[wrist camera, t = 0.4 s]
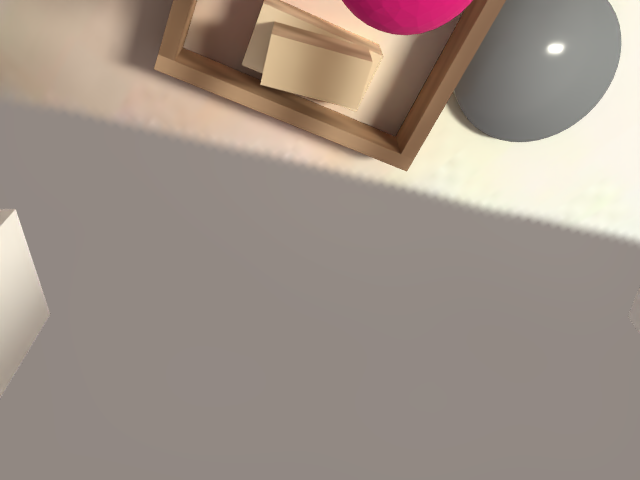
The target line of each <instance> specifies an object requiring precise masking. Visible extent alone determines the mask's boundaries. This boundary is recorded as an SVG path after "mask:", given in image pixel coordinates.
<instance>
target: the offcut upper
mask: <svg viewBox="0 0 640 480" xmlns="http://www.w3.org/2000/svg"><path fill="white" fill-rule="evenodd" d="M372 63H373V61H372V58H371V54H370V51H369V48H368V47H364V46H361V45H357V44H353V43H350V42H346V41H343V40H339V39H336V38H332V37H329V36H325V35H321V34H318V33H314V32H311V31H307V30H304V29H300V28H296V27H293V26H289V25H286V24H282V23H279V22H275V21H274V25H273V29H272V34H271V38H270V43H269V47H268V52H267V57H266V61H265V66H264V70H263V75H262V79H261V84H260V85H264V86H268V87H271V88H275V89H279V90H283V91H287V92H290V93H294V94H298V95H302V96H306V97H310V98H313V99H317V100H321V101H325V102H329V103H332V104H336V105H340V106H344V107H348V108H352V109H355V110H357V109H358V106H359V103H360V100H361V97H362V94H363V91H364V88H365V85H366V81H367V78H368V75H369V72H370V69H371V66H372Z"/></svg>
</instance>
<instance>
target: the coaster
mask: <svg viewBox="0 0 640 480" xmlns="http://www.w3.org/2000/svg"><path fill="white" fill-rule="evenodd" d="M620 52H621V32H620V26H619V22H618V19H617V16H616V13H615V12H614V10H613V8H612V6H611V4H610V3H609V2H608V0H506V1H505V3H504V5H503V7H502V8H501V10H500V12H499V13H498V15H497V17H496V19H495V20H494V22H493V24H492V25H491V27H490V29H489V31H488V32H487V34H486V36H485V38H484V39H483V41H482V43H481V44H480V46H479V48H478V50H477V51H476V53H475V55H474V57H473V58H472V60H471V62H470V63H469V65H468V67H467V69H466V70H465V72H464V74H463V76H462V77H461V79H460V81H459V82H458V84H457V86H456V88H455V89H454V91H453V92H454V95H455V98H456V100H457V102H458V104H459V106H460V108H461V110H462V112H463V113H464V114H465V116H466V117H467V119H468V120H469V121H470V122H471V123H472V124H473V125H474V126H475V127H476V128H478V129H479V130H480V131H482V132H483V133H485V134H487V135H489V136H491V137H494V138H497V139H500V140H505V141H510V142H529V141H536V140H540V139H544V138H548V137H550V136H553V135H555V134H558V133H560V132H562V131H564V130H566V129H568V128H569V127H571V126H572V125H574V124H575V123H577V122H578V121H579V120H581V119H582V118H583V117H584V116H586V115H587V114H588V113H589V112H590V111H591V110H592V109H593V108H594V107H595V106H596V104H597V103H598V102H599V101H600V99H601V98H602V97H603V95H604V94H605V92H606V91H607V89H608V87H609V86H610V84H611V82H612V80H613V78H614V75H615V72H616V70H617V67H618V63H619V59H620Z"/></svg>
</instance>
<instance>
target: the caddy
mask: <svg viewBox="0 0 640 480" xmlns="http://www.w3.org/2000/svg"><path fill="white" fill-rule="evenodd" d="M505 1H506V0H473V1H472V2H471V3H470V4H469V5H468V6H467V7H466V9H465V11H464V13H463V14H462V16H461V18H460V20H459V22H458V24H457V25H456V27H455V29H454V31H453V33H452V35H451V36H450V38H449V40H448V42H447V44H446V46H445V47H444V49H443V51H442V53H441V55H440V57H439V58H438V60H437V62H436V64H435V66H434V67H433V69H432V71H431V73H430V75H429V77H428V78H427V80H426V82H425V84H424V86H423V88H422V89H421V91H420V93H419V95H418V97H417V99H416V100H415V102H414V104H413V106H412V108H411V109H410V111H409V113H408V115H407V117H406V119H405V120H404V122H403V124H402V126H401V128H400V130H399V131H398V133H397V135H396V137H395V136H393V135H391V134H388V133H386V132H383V131H381V130H379V129H376V128H374V127H371V126H369V125H367V124H364V123H362V122H359V121H357V120H355V119H352V118H350V117H348V116H345V115H343V114H340V113H338V112H336V111H333V110H331V109H328V108H326V107H324V106H321V105H319V104H316V103H314V102H312V101H309V100H307V99H304V98H302V97H300V96H297V95H295V94H293V93H290V92H287V91H283V90H279V89H275V88H271V87H268V86H264V85H260V84H261V80H259V79H257V78H254V77H252V76H250V75H247V74H245V73H242V72H240V71H238V70H235V69H233V68H230V67H228V66H226V65H223V64H221V63H218V62H216V61H214V60H211V59H209V58H206V57H204V56H202V55H199V54H197V53H195V52H192V51H190V50H187V49H185V48H183V46H184V42H185V39H186V36H187V32H188V29H189V26H190V22H191V19H192V16H193V12H194V9H195V6H196V2H197V0H173V3H172V6H171V10H170V14H169V17H168V21H167V24H166V28H165V31H164V35H163V39H162V42H161V46H160V49H159V53H158V57H157V60H156V64H155V67H154V69H155V70H157V71H160V72H162V73H165V74H167V75H170V76H172V77H175V78H177V79H180V80H182V81H184V82H187V83H189V84H192V85H194V86H197V87H199V88H202V89H204V90H207V91H209V92H212V93H214V94H217V95H219V96H222V97H224V98H226V99H229V100H231V101H234V102H236V103H239V104H241V105H244V106H246V107H249V108H251V109H254V110H256V111H259V112H261V113H264V114H266V115H269V116H271V117H273V118H276V119H278V120H281V121H283V122H286V123H288V124H291V125H293V126H296V127H298V128H301V129H303V130H306V131H308V132H311V133H313V134H315V135H318V136H320V137H323V138H325V139H328V140H330V141H333V142H335V143H338V144H340V145H343V146H345V147H348V148H350V149H353V150H355V151H358V152H360V153H362V154H365V155H367V156H370V157H372V158H375V159H377V160H380V161H382V162H385V163H387V164H390V165H392V166H395V167H397V168H400V169H402V170H405V171H407V170H408V169H409V167H410V165H411V163H412V162H413V160H414V158H415V157H416V155H417V153H418V151H419V150H420V148H421V146H422V145H423V143H424V141H425V139H426V138H427V136H428V134H429V132H430V131H431V129H432V127H433V126H434V124H435V122H436V120H437V119H438V117H439V115H440V113H441V112H442V110H443V108H444V107H445V105H446V103H447V101H448V100H449V98H450V96H451V94H452V93H453V91H454V89H455V88H456V86H457V84H458V82H459V81H460V79H461V77H462V76H463V74H464V72H465V70H466V69H467V67H468V65H469V63H470V62H471V60H472V58H473V57H474V55H475V53H476V51H477V50H478V48H479V46H480V44H481V43H482V41H483V39H484V38H485V36H486V34H487V32H488V31H489V29H490V27H491V25H492V24H493V22H494V20H495V19H496V17H497V15H498V13H499V12H500V10H501V8H502V7H503V5H504V3H505Z"/></svg>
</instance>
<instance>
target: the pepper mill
mask: <svg viewBox="0 0 640 480" xmlns="http://www.w3.org/2000/svg"><path fill="white" fill-rule="evenodd" d="M342 1H343V2H344V4H345V5H346V6H347V8H348V9H349V10H350V11H351V12H352V13H353V14H354V15H355V16H356V17H357V18H359V19H360V20H361V21H363V22H364V23H366V24H367V25H369V26H371V27H373V28H375V29H377V30H380V31H383V32H387V33H390V34H397V35H412V34H421V33H424V32H427V31H430V30H434V29H436V28H438V27H440V26H442V25H444V24H446V23H447V22H449V21H450V20H452V19H453V18H455V17H456V16H457V15H459V14H460V13H461V12H462V11H463V10H464V9H465V8H466V7H467V6H468V5H469V4H470V3H471V2H472V1H473V0H342Z"/></svg>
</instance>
